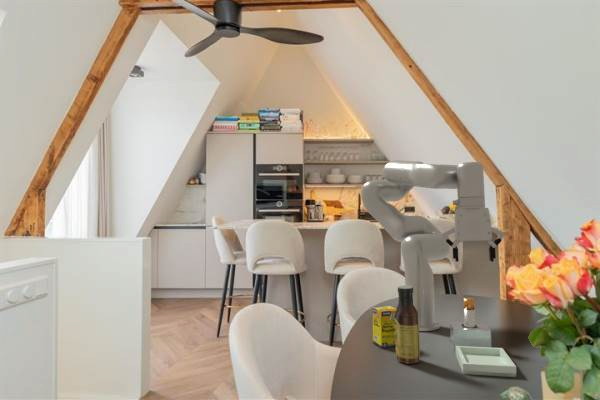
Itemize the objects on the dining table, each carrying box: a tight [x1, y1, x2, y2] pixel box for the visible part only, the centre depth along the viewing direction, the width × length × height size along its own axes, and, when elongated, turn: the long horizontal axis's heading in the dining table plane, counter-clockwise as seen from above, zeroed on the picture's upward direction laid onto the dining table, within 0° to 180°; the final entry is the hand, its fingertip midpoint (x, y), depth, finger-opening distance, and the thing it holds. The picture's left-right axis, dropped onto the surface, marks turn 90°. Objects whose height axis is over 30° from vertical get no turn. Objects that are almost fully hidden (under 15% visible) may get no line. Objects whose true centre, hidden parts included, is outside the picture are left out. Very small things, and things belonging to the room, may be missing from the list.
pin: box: [462, 297, 476, 328], centre depth 126 cm, size 3×3×14 cm
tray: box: [455, 346, 517, 378], centre depth 111 cm, size 12×14×2 cm
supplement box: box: [372, 305, 397, 349], centre depth 130 cm, size 6×6×11 cm
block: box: [449, 321, 492, 351], centre depth 126 cm, size 10×8×6 cm
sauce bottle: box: [395, 285, 421, 365], centre depth 116 cm, size 6×6×20 cm
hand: (474, 261), depth 129 cm, fingers open, 9 cm apart
